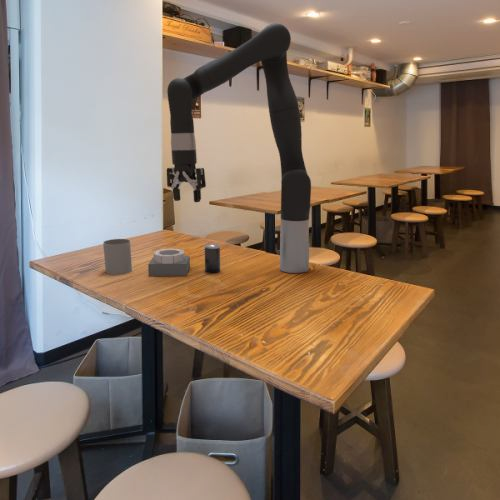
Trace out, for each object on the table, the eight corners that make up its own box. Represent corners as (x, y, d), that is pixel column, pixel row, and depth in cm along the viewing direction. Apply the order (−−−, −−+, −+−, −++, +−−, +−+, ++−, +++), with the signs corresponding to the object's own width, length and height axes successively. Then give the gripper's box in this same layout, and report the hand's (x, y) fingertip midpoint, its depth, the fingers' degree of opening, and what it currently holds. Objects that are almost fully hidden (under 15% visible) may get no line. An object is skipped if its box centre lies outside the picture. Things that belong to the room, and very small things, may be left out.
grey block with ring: (189, 266, 147) (189, 248, 146) (186, 275, 138) (186, 256, 136) (154, 267, 147) (153, 248, 145) (148, 276, 137) (147, 256, 136)
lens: (220, 268, 145) (220, 242, 143) (220, 273, 140) (219, 246, 138) (205, 269, 145) (204, 243, 143) (204, 273, 140) (203, 246, 138)
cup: (124, 275, 138) (122, 245, 135) (100, 274, 139) (98, 244, 137) (136, 268, 146) (134, 239, 143) (113, 266, 147) (111, 238, 145)
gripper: (209, 148, 132) (211, 201, 135) (175, 148, 139) (179, 198, 143) (192, 148, 126) (195, 204, 130) (158, 149, 134) (162, 201, 137)
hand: (187, 201), depth 136 cm, fingers open, 8 cm apart
